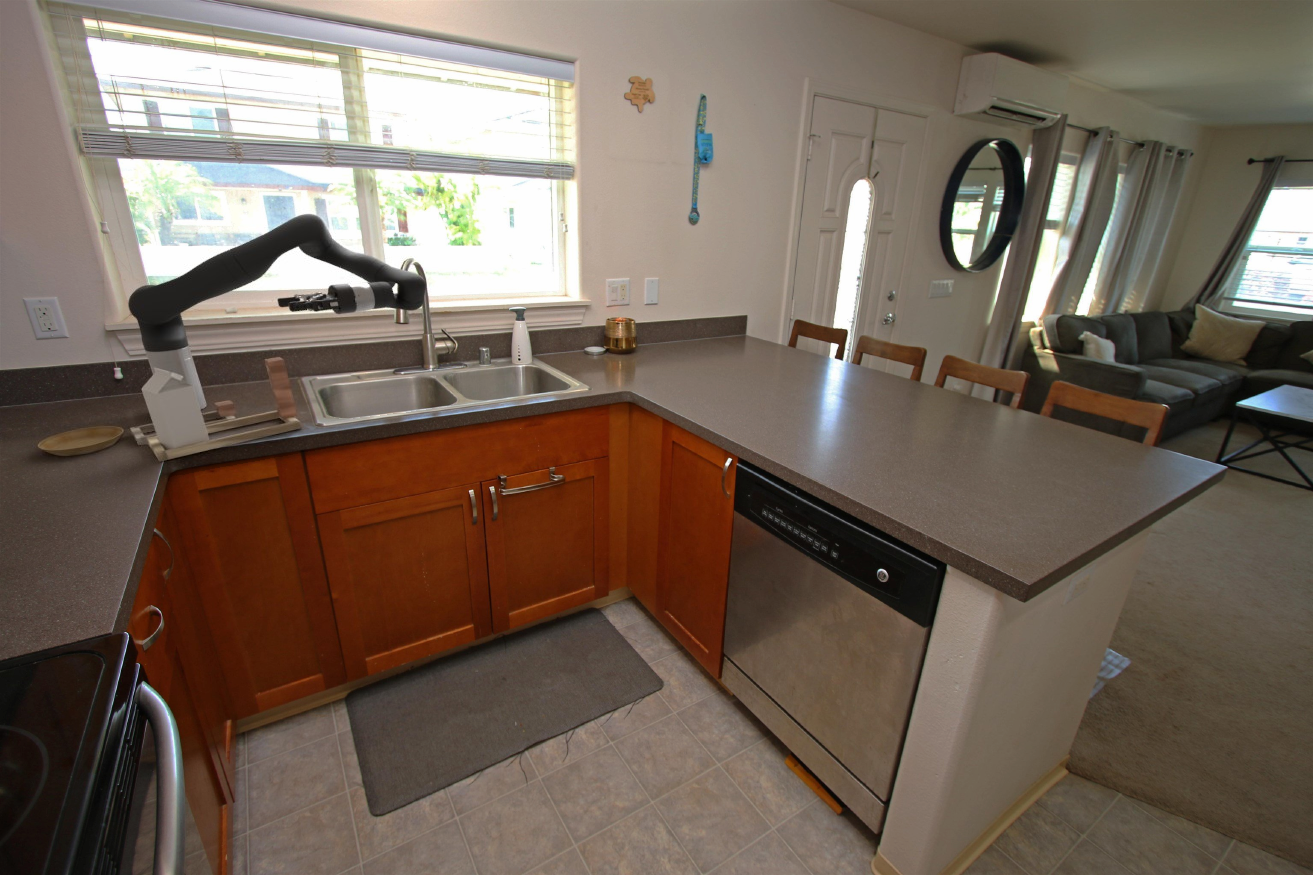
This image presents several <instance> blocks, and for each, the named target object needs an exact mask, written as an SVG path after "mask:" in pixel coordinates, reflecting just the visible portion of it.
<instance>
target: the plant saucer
mask: <svg viewBox="0 0 1313 875" xmlns="http://www.w3.org/2000/svg"><path fill="white" fill-rule="evenodd" d="M123 433H124V429H123V428H122V427H119V426H113V425H107V426H106V425H103V426H102V425H101V426H92V427H84V428H79V429H74V430H73V429H72V430H68V431H65V432H62V433H59V434H55V435H53V436H49V437H47V438H45V439H43V440H41V441H39V443H38V444H37V447H38V448H39V449H40V450H42V451H44V452H46V453H48V454H52V455H54V456H58V457H71V456H79V455H80V456H81V455H85V454H91V453H94V452H98V451H102V450H104V449H106V448H109V447H111V446H113V445H114V444H115V443H116V442H118V441H119V439H120V438H121V436H122V435H123Z"/></svg>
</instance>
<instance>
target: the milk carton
mask: <svg viewBox="0 0 1313 875" xmlns="http://www.w3.org/2000/svg"><path fill="white" fill-rule="evenodd" d="M154 370H155V373H154V375H153V374H152V376H151V377H150V378H148V380H147V381H146V382H145V383H144V385H143V386H142V388H141V391H142V392H141V393H142V395H143V398H144V401H145V404H146V407H147V410H148V413H149V416H150V419H151V421H152V422H151V423H153V425H154V428H155V433H156V434H157V436H158V439H159V442H160V444H161V445H162V447H163V448H164V449H165V450H169V449H174V448H178V447H183V446H187V445H191V444H196V443H200V442H205V441H209V440H211V439H210V437H209V433H207V429H206V426H205V423H204V420H203V416H202V409H200V406H199V403H198V400H197V397H196V393H195V390H194V387H193V386H192V385H190V384H188V383H185V382H183V381H181V380H182V378H183V376H181V375H178V374H176V373H170V372H168V371H165V370H161V369H158V368H154Z"/></svg>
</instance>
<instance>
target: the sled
mask: <svg viewBox="0 0 1313 875" xmlns="http://www.w3.org/2000/svg"><path fill="white" fill-rule="evenodd" d="M264 363H265V367H266V371H267V375H268V379H269V384H270V386H271V390H272V396H273V399H274V403H275V407H276V410H271V411H267V412H262V413H258V414H253V415H248V416H243V417H238V418H236V419H233V420H228V421H223V422H219V423H214V424H209V425H205V426H206V429H207V433H208V434H211V433H216V432H220V431H225V430H229V429H233V428H239V427H243V426H249V425H253V424H256V423H258V424H259V423H261V422H267V421H271V420H275V419H276V420H277V419H281V421H283V422H284V423H281V424H275V425H270V426H268V427H267V426H266V427H263V428H258V429H254V430H249V431H245V432H241V433H236V434H231V435H227V436H223V437H218V438H214V439H210V440H209V441H205V442H200V443H196V444H191V445H187V446H183V447H178V448H174V449H169V450H165V449H164V448H163V447H162V445H161V444H160V442H159V439H158V436H153V437H148V438H147V441H148V444H147V445H148V446H149V447H150V449H151V451H152V452H153V453H154V455H155V456H156V458H157V460H158V461H159V462H164V461H167V460H171V459H175V458H180V457H184V456H189V455H193V454H197V453H200V452H205V451H209V450H210V451H211V450H214V448H215V449H219V448H221V447H223V448H224V447H228V446H231V445H235V444H239V443H243V442H248V441H252V440H255V439H261V438H265V437H269V436H274V435H277V434H282V433H286V432H290V431H295V430H299V429H302V427H303V426H302V423H301V421H300V420H299V419H297V418H296V417H297V416H298V414H297V409H296V404H295V399H294V396H293V391H292V387H291V383H290V379H289V374H288V371H287V366H286V362H285V359H284V358H282V357H280V356H278V357H277V356H276V357H272V358H265V359H264Z"/></svg>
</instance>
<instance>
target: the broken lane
mask: <svg viewBox="0 0 1313 875" xmlns="http://www.w3.org/2000/svg"><path fill="white" fill-rule="evenodd" d="M214 407H215V409H216V410H213V411H212V410H211V411H208V412H203V413H202V412H201V413H202V416H203V420H204V423H205V425H209V424H214V423H219V422H223V421H228V420H233V419H237V417H236V416H234V415H237V410H236V408H235V405H234V402H232V401H231V400H230V399H229V400H223V401H218V402H215V403H214ZM221 417H222V418H221ZM216 418H217V419H219V420H217V419H216ZM209 419H212V420H211V421H210V420H209ZM205 420H208V421H205ZM129 430H130V432H131V433H130V434H131V435H132V437H133V436H134V437H133V439H134V440H135V442H136V441H137V442H136V443H137V445H138V446H139V445H141V446H144V445H143V444H145V445H147V444H146V443H148V441H147V438H148V437H153V436H157V434H156V431H155V428H154V425H153V422H151V423H148V424H142V425H137V426H133V427H130V428H129ZM151 431H155V432H154V433H152V432H151ZM147 432H150V433H149V434H148V433H147ZM143 433H145V434H143Z"/></svg>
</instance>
